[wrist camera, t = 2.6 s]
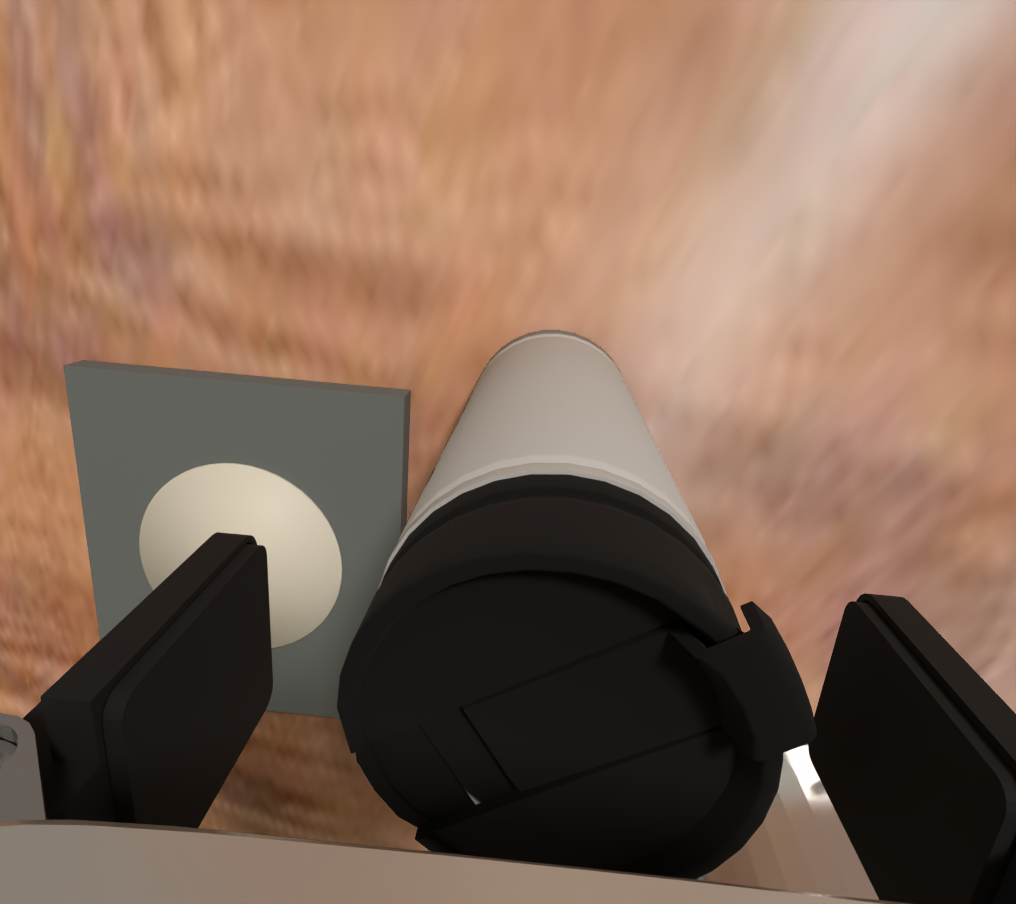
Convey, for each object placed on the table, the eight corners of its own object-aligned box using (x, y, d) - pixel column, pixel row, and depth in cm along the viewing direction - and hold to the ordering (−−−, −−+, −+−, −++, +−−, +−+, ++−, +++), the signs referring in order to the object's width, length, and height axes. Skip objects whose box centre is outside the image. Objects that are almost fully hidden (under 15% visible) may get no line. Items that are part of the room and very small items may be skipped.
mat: (400, 707, 33) (393, 727, 31) (122, 677, 33) (104, 695, 32) (410, 390, 28) (403, 398, 26) (83, 360, 28) (59, 366, 27)
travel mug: (660, 431, 28) (897, 863, 9) (520, 499, 29) (462, 1005, 10) (591, 295, 26) (697, 462, 7) (448, 375, 27) (214, 691, 8)
